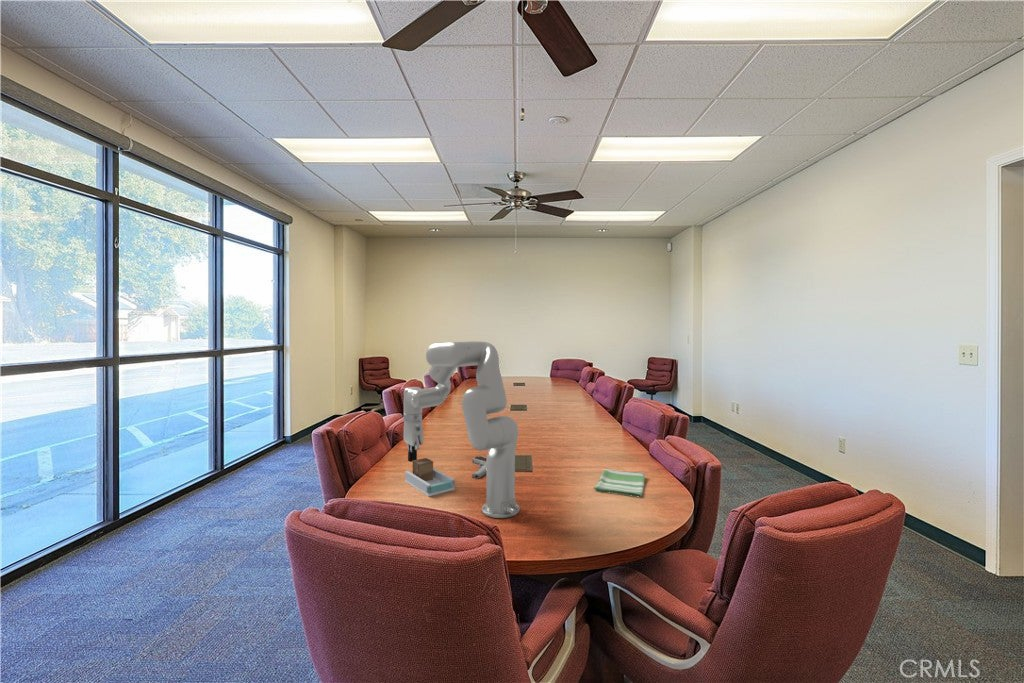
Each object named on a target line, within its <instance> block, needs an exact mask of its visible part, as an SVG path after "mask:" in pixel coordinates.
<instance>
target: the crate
mask: <svg viewBox="0 0 1024 683" xmlns="http://www.w3.org/2000/svg"><path fill="white" fill-rule="evenodd" d="M411 463H412V474H414V475H416V476H417V477H419V478H421V479H422V480H424V481H429V480H433V468H434V461H433V460H431V459H429V458H427V457H423V458H420V459H419V458H417V460H413V461H412V462H411Z"/></svg>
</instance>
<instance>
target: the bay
mask: <svg viewBox="0 0 1024 683" xmlns="http://www.w3.org/2000/svg"><path fill="white" fill-rule="evenodd" d="M404 481H405V483H407V484H409V485H410V486H411V487H413V488H414V489H416V490H418V491H419V492H421V493H422V494H424V495H425V496H427V497H432V496H436V495H440V494H445V493H448V492H451V491H455V490H456V489H455V481H456V480H455V478H453V477H451V476H449V475H447V474H445V473H443V472H442V471H439V470H437V469H435V468H434V467H433V480H429V481H424V480H422V479H421V478H419V477H417V476H416V475H414V474H413V472H411V471H409V470H405V471H404Z"/></svg>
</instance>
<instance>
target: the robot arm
mask: <svg viewBox="0 0 1024 683" xmlns="http://www.w3.org/2000/svg"><path fill="white" fill-rule="evenodd" d="M425 359H426V362H427V363H428V365H430V368H429V370H428V374H429V377H430V378H431V379H432V380H433V381H434V382H436V383H437V385H435V387H429V388H421V387H419V386H409V387H405V388H404V390H403V437H402V438H403V442H405V445H406V446H407V461H408V462H411V463H413V462H412V461H413V460H418V456H417V455H418V450H420V448H421V447H420V446H422V445H424V427H423V409H425V408H431V407H436V406H437V407H438V406H440V405H442V404H443V403H444V402H445V401H446V399H447V397H448V396H449V395H450V392H451V387H452V384H451V377H452V376H453V374H454V373H455V372H456V370H457V369H458V368H461V367H469V366H470V367H471V366H477V369H476V373H475V378H476V382H477V386H474V387H471V388H468V389H467V390H466V391H465V392H464V394H463V396H462V402H461V405H462V406H461V407H462V412H463V418H464V423H465V427H466V432H467V436H468V439H469V442H470V445H471V446H472V447H473V448H474V450H477V451H480V452H481V451H487V450H488V451H487V455H486V458H487V465H486V474H485V476H486V477H485V478H486V480H485V481H486V488H485V490H486V491H485V492H486V494H485V496H486V499H485V500H486V502H485V503H484V504H482V507H481V512H482V514H483V515H485V516H487V517H488V518H489V517H491V518H495V519H506V518H512V517H513V516H516V515H517V514H518V513H519V512H520V509H521V507H520V506H519V505H518V503H517V499H515V498H516V497H515V496H516V495H515V494H516V493H515V489H516V488H515V486H516V477H515V476H516V447H517V442H518V437H519V428H518V427H519V426H518V424H517V422H516V421H515V419H514V418H512V417H510V416H507V415H506V416H505V415H502V416H500V415H499V416H495V417H491V418H488V415H491V414H498V413H500V412H502V411H504V410H505V409H506V408H507V403H508V401H507V395H506V390H505V387H504V381H503V376H502V375H501V373H502V372H501V370H500V369H501V367H500V357H499V352H498V351H497V348H496V347H495V346H494V345H493V344H492V343H490V342H486V341H454V342H453V341H452V342H450V341H449V342H434V343H432V344H431V345H429V347H428V348H427V350H426V354H425Z"/></svg>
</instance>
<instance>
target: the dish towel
mask: <svg viewBox="0 0 1024 683" xmlns="http://www.w3.org/2000/svg"><path fill="white" fill-rule="evenodd" d="M645 482H646V478H645V472H638V471H624V470H614V469H608V468H605V469H603V472H602V473H601V475H600V477H599V480H598V483H596V485H594V487H593V489H594V491H595V492H598V493H604V492H606V494H608V493H607V492H610V493H609V494H612V493H617V494H616V495H620V494H624V495H623V496H628V495H632V496H634V497H636V496H639V497H641V498H642V496H643V493H644V487H645ZM639 497H638V498H639Z"/></svg>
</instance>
